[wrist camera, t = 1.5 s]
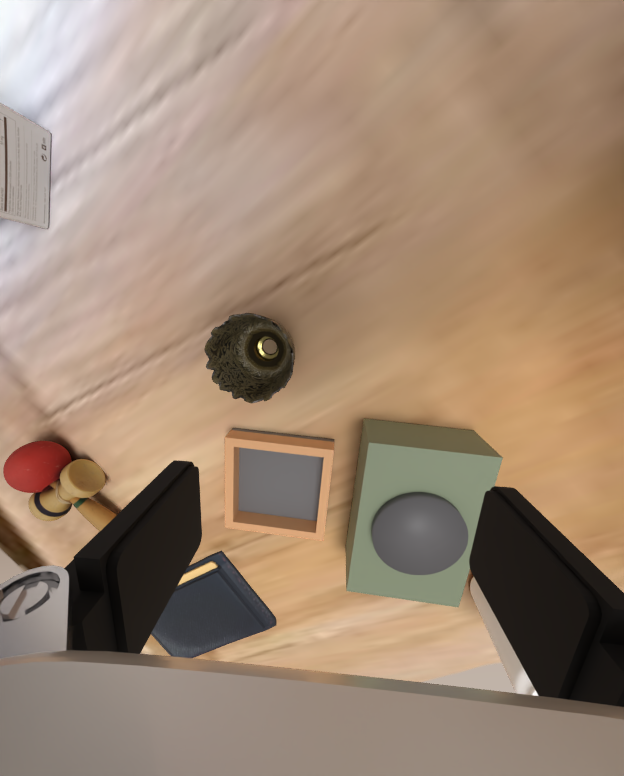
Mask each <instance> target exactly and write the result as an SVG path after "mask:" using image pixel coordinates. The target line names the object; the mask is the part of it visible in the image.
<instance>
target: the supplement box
mask: <svg viewBox="0 0 624 776" xmlns="http://www.w3.org/2000/svg"><path fill="white" fill-rule="evenodd" d="M50 148H51V133H50V132H49V131H47V130H46V129H44V128H42V127H41V126H39V125H37V124H36V123H34V122H32V121H31V120H29V119H27V118H25V117H24V116H22V115H20V114H19V113H17V112H15V111H14V110H12V109H10V108H9V107H7V106H5V105H4V104H2V103H0V217H1V218H5V219H9V220H12V221H16V222H20V223H25V224H29V225H33V226H37V227H40V228H44V229H48V224H49V190H50Z"/></svg>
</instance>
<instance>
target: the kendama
mask: <svg viewBox="0 0 624 776" xmlns="http://www.w3.org/2000/svg"><path fill="white" fill-rule="evenodd" d="M3 472H4V478H5V480H6V481H7V483H8V484H9V485H10V486H11V487H13V488H14V489H16V490H19V491H22V492H27V493H34V494H33V495H32V496H31V497H30V499H29V509H30V511H31V513H32V514H33V515H34V516H35V517H36V518H38V519H40V520H43V521H54V520H57V519H59V518H61V517H62V516H64V515H66V514H67V513H68V512H69V511H70V509H71V507H72V504H73V505H74V506H75V507H76V508H77V509H78V511H79V512H80V513H81V514H82V515H83V516H84V517H85V518H86V519H87V520H88V521H89V522H90V523H91V524H92V525H93V526H94V527H95V528H97V529H98V530H99V531H101V530H102V529H103V528H104V527H105V526H106V525H107V524H108V523H109V522H110V521H111V520H112V519H113V518H115V517H116V516H117V515H116V514H115V513H113V512H112V511H110V510H109V509H107V508H106V507H104V506H102V505H101V504H99V503H97V502H95V501H94V500H92V499H90V498H88V497H91V496H93V495H95V494H96V493H97V492H99V491H100V490H101V489H102V488H103V487H104V485H105V482H106V478H105V474H104V472H103V470H102V469H101V468H100V467H99V466H98V465H97V464H96V463H95V462H93V461H90V460H87V459H78V460H75V461H73V462H71V456H70V454H69V452H68V451H67V450H66V449H65V448H64V447H63V446H61V445H60V444H57V443H55V442H51V441H37V442H32V443H29V444H26V445H24V446H22V447H20V448H18V449H17V450H16V451H14V452H13V453H12V454H11V455H10V456H9V458H8V459H7V460H6V462H5V464H4V471H3Z"/></svg>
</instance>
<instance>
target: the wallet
mask: <svg viewBox="0 0 624 776" xmlns="http://www.w3.org/2000/svg"><path fill="white" fill-rule="evenodd" d="M274 626H276V618H275V616H274V615H273V614H272V612H271V611H270V610H269V608H268V607H267V606H266V605H265V603H264V602H263V601H262V600H261V599H260V597H259V596H258V595H257V594H256V593H255V591H254V590H253V589H252V588H251V587H250V585H249V584H248V583H247V581H246V580H245V579H244V578H243V576H242V575H241V574H240V573H239V571H238V570H237V569H236V568H235V566H234V565H233V564H232V563H231V562H230V560H229V559H228V558H227V557H226V555H225V554H224V553H223V552H222V551H220V552H217V553H215V554H212V555H210V556H208V557H206V558H204V559H202V560H200V561H198V562H196V563H194V564H192V565H190V566H188V567H187V569H186V571H185V573H184V575H183V576H182V578H181V580H180V582H179V584H178V585H177V587H176V589H175V591H174V593H173V595H172V596H171V598H170V600H169V602H168V604H167V605H166V607H165V609H164V611H163V613H162V614H161V616H160V618H159V620H158V622H157V624H156V625H155V627H154V629H153V631H152V633H151V635H152V636H153V637H154V638H155V639H156V640H157V641H158V642H159V644H160V645H161V646H162V647H163V648H164V649H165V650H166V651H167V652H168V653H169V654H170V655H171V656H172V657H184V658H194V657H196V656H199V655H201V654H204V653H206V652H209V651H211V650H214V649H216V648H219V647H221V646H224V645H226V644H229V643H232V642H235V641H237V640H240V639H243V638H246V637H248V636H251V635H254V634H257V633H260V632H263V631H265V630H268V629H270V628H272V627H274Z"/></svg>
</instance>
